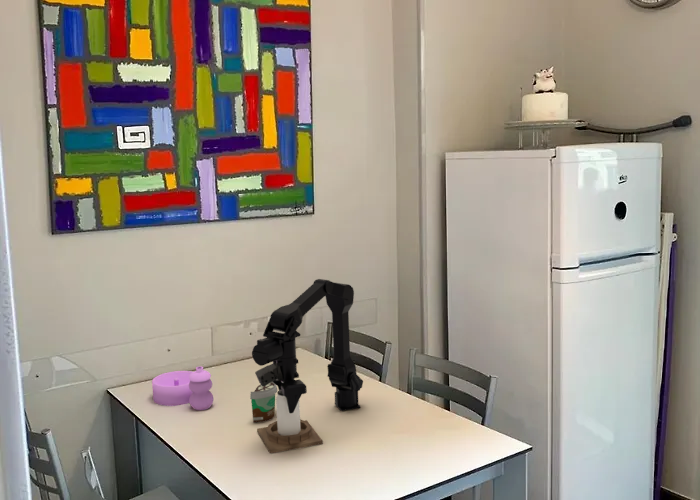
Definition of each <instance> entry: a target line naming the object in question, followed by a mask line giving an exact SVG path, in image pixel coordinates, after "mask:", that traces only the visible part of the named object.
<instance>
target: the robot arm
mask: <svg viewBox="0 0 700 500" xmlns="http://www.w3.org/2000/svg"><path fill="white" fill-rule="evenodd" d="M354 295H355V290H354V287H353V286H352V285H350V284H347V283H339V282H334V281H331V280H330V279H329V280H328V279H323V278H317V279H315V280H314V281H313V283H312V284H311V285H310V286H309V287H308V288H307V289H306V290H305V291H303V292H302V293H301V294H300V295H299V296H298V297H296V298H295V299H294V300H293V301H292V302H291V303H288V304H286V305H283V306H280V307H278V308H277V309H274V310H273V312H272V313H271V314H270V317H269V320H268V323H267V324H266V326H265V330H264V331H263V335H262V336H263V337H264V338H260V339H257V341H256V344H255V345H254V346H253V347H252V351H251V357H252V359H253V361H254V362H255V363H256V364H257V365H258V366H260V367H261V368H260V369H258V370H256V371H255V376H256V378H257V380H258V382H259V385H260V384H261V386H266V385H267V384H269V383H271V382H273V383H275V384H276V386H277V390H278V391H279V390H281V391H280V392H281V393H282V395H283V396H285V397H286V400H287V405H288V409H289V413H293V412H294V410H295V408H296V406H297V403H298V401H299V402H300V398H301V397H302V395H305V394H308V393H307V385H306V384H305V383H304V382H303V381H302V380H301V379H297V378H300V375H299V372H298V369H297V368H298V367H297V366H298V365H297V364H299V359H298V358H297V346H296V345H297V344H296V338H299V337H301V332H298V331H297V330H298V328H299V327H300V326H301V324H302V323H303V317H305V316H306V314H307V313H308V312H310V310H311V309H312V308H314V307H315V306H316V305H317V304H318V303H320V301H322V299H323V298H324V297H325V300H326V301H325V302H326V305H327V306H328V308H329V310H330V312H331V318H332V319H331V321H332V341H333V342H332V344H333V347H332V348H333V359H332V361H331V362H330V363H328V364H327V366H326V367H327V377H328V380H329V382H330V384H331V387H332V388H335V392H334V405H335V406H336V407H337V408H338V409H339V411H342V412H344V411H348V410H354V409H360V408H361V405H360V404H359V391H361V389H362V388H363V383H364V380H363V379H362V378H361V377H360V376H359V375H358V374H357V368H356V363H354V361H353V359H352V357H351V348H350V347H351V345H350V322H349V321H350V318H349V313H350V309H351V308H352V306H353V305H354V297H355V296H354ZM268 364H269V365H268ZM265 365H266V366H265ZM263 366H264V367H263Z"/></svg>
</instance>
